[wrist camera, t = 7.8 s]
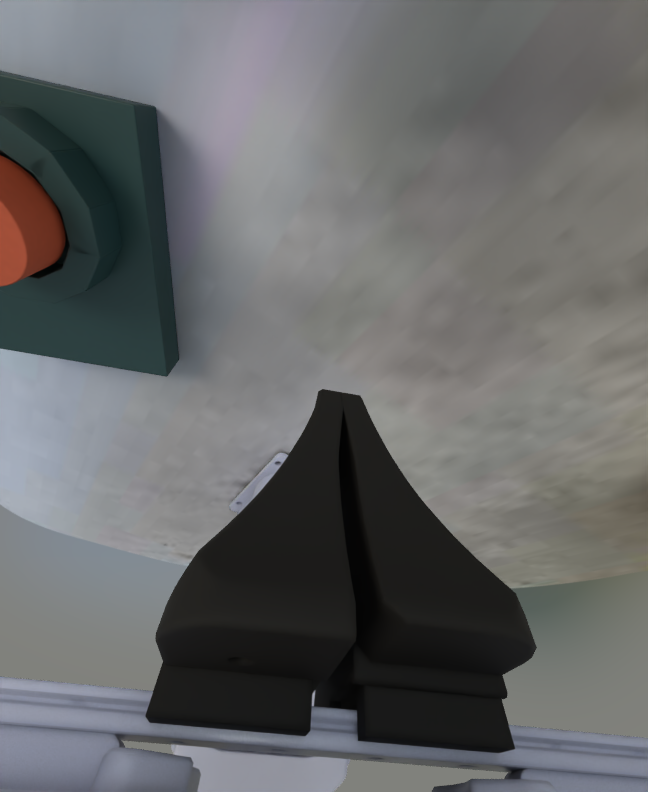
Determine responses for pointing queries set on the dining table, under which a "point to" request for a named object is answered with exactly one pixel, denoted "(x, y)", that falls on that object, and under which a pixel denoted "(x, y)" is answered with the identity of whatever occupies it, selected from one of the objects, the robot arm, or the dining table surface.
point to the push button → (26, 225)
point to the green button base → (92, 229)
